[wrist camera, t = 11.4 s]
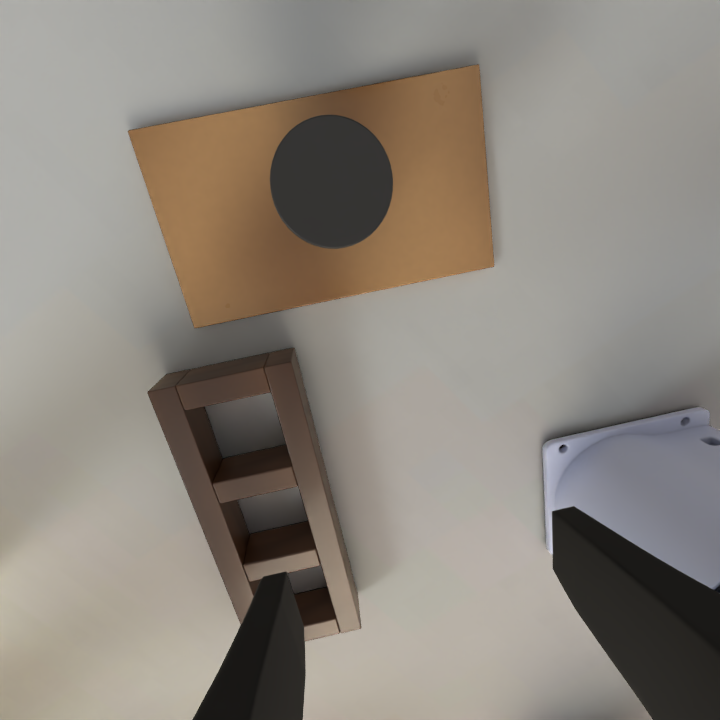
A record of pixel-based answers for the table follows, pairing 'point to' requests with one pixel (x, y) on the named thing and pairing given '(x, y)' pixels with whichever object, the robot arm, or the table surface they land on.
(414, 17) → the table surface
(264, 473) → the pen stand
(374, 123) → the cork mat
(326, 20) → the table surface
